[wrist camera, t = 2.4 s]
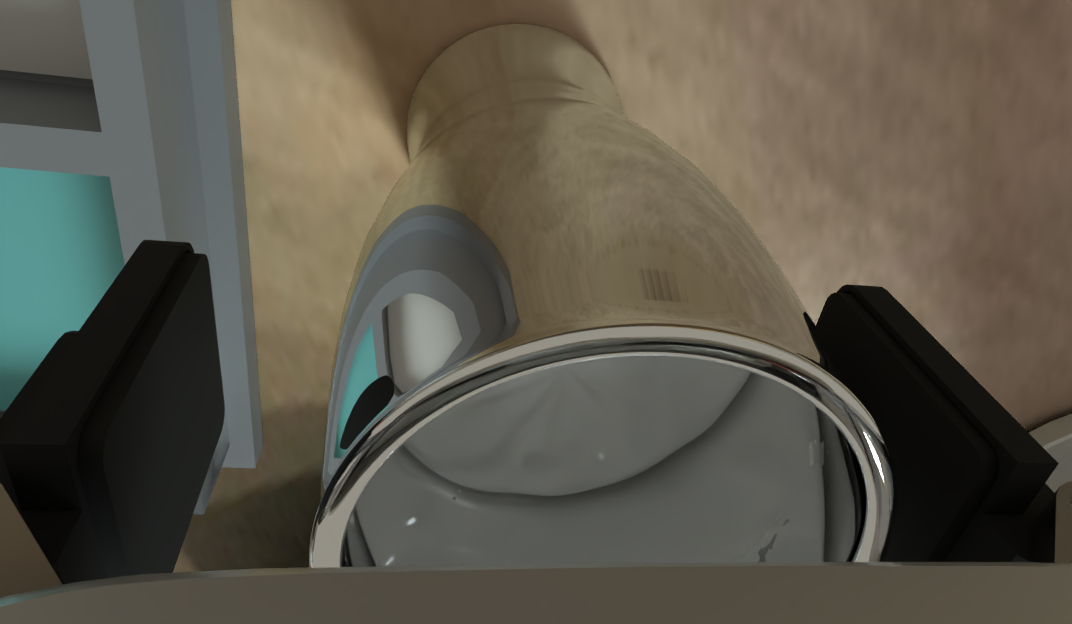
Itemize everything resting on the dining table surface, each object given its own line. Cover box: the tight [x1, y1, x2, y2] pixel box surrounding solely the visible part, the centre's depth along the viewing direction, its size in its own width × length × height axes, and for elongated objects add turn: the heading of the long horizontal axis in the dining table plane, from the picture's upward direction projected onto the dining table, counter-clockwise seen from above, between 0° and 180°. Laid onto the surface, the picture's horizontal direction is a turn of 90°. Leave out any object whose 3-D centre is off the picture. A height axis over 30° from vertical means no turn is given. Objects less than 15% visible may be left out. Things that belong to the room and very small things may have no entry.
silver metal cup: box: [309, 24, 898, 568], centre depth 15 cm, size 7×7×15 cm
